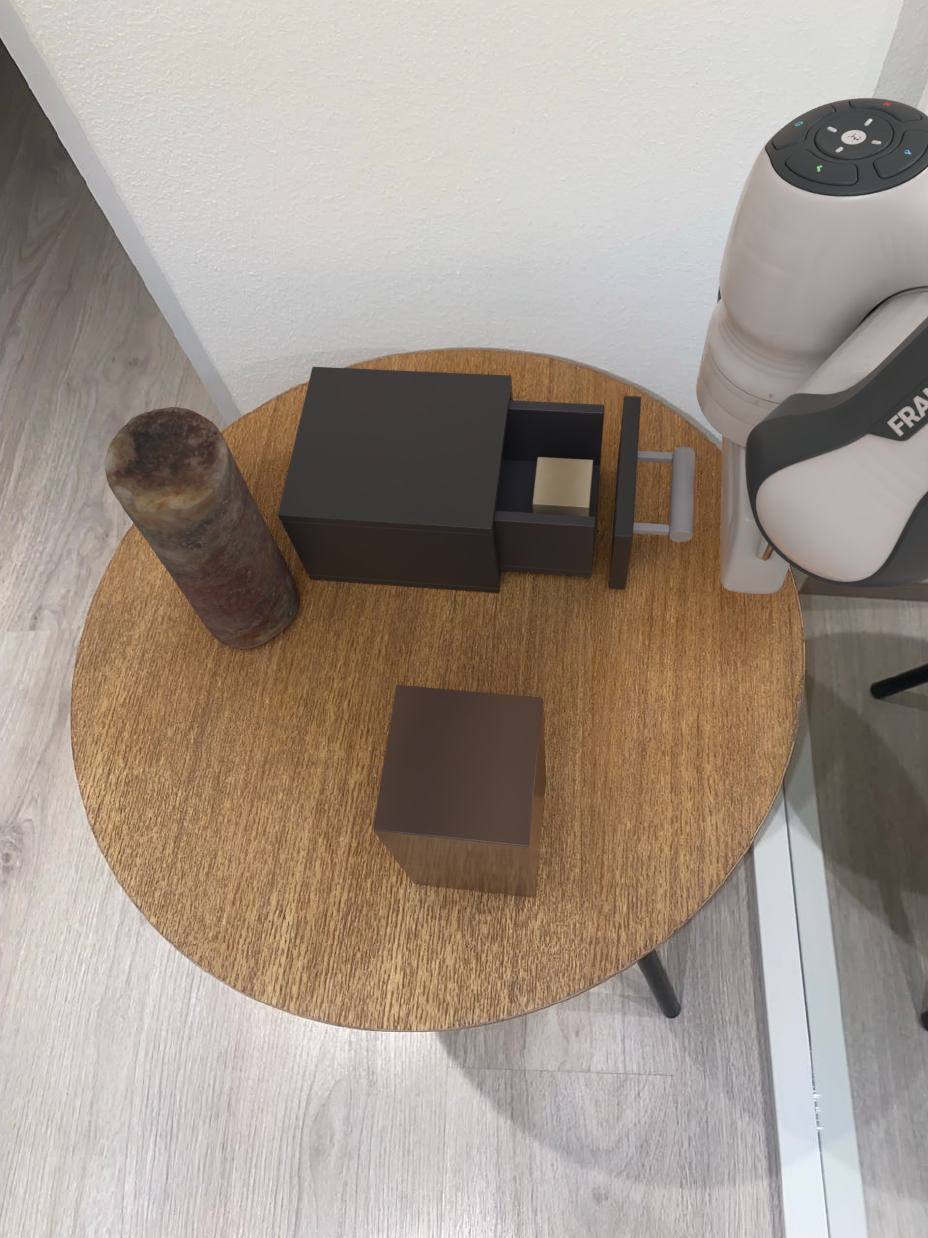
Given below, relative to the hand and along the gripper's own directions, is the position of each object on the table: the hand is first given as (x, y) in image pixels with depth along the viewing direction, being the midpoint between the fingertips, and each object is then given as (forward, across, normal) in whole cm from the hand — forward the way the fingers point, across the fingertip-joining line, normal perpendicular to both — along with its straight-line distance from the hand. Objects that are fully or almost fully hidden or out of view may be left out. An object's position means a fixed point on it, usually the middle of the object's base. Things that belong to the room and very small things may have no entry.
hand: (736, 500), depth 69 cm
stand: (+5, -24, +16) cm, 29 cm away
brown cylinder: (+5, -9, +35) cm, 36 cm away
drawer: (+4, 0, +12) cm, 12 cm away
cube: (+3, 0, +12) cm, 13 cm away
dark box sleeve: (+5, 0, +24) cm, 24 cm away
